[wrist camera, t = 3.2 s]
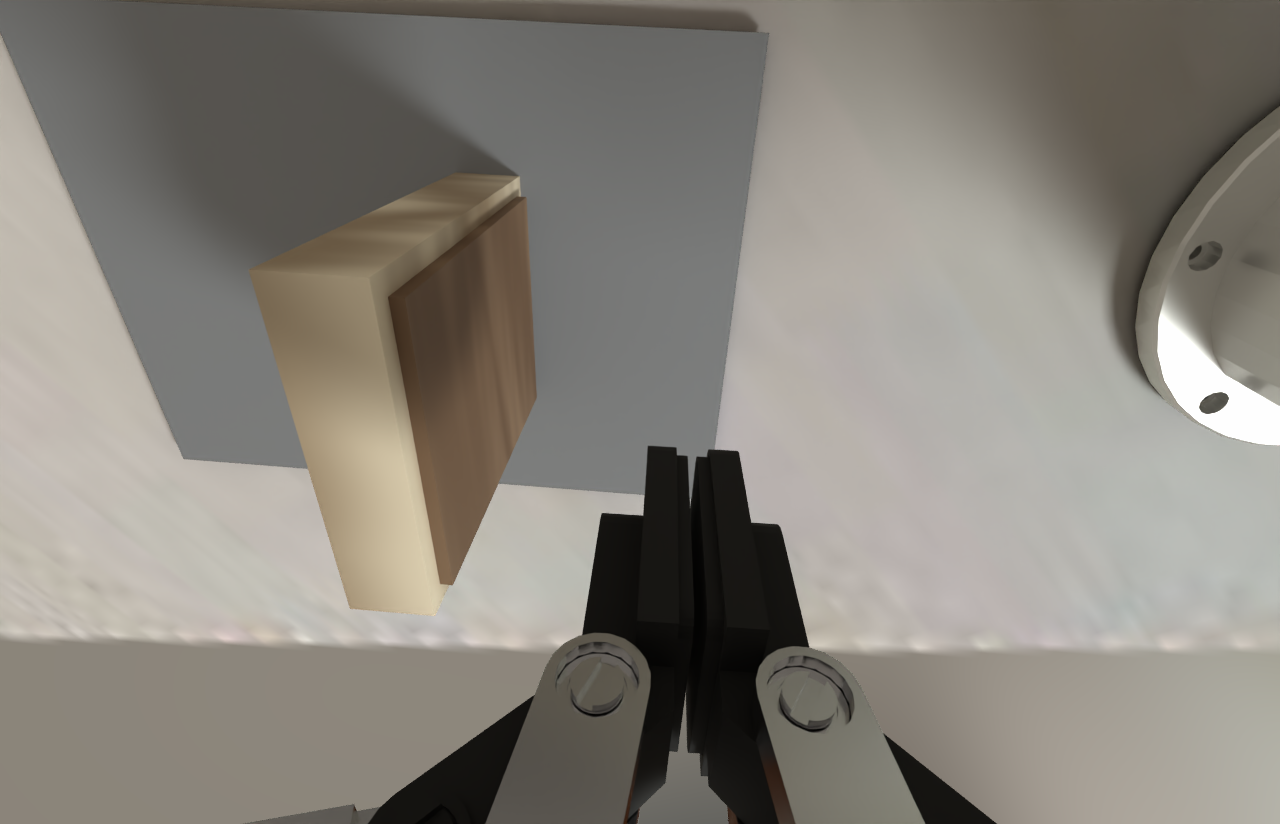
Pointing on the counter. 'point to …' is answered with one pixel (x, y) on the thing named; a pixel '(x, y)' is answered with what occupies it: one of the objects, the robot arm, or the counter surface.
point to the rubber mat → (395, 167)
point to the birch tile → (407, 377)
